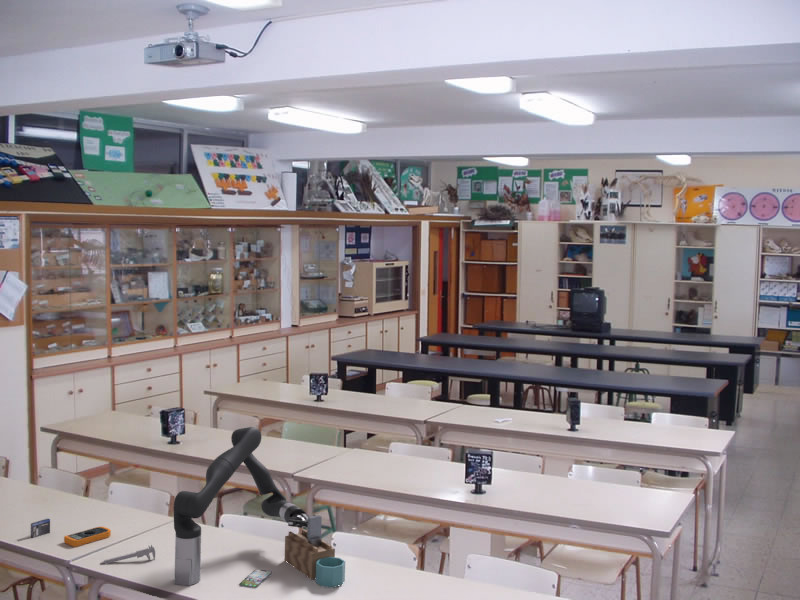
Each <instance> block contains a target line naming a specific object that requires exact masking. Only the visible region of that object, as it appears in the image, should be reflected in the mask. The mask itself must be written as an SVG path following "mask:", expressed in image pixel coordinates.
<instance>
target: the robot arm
mask: <svg viewBox="0 0 800 600" xmlns="http://www.w3.org/2000/svg"><path fill="white" fill-rule="evenodd" d="M260 430H261V429H259V428H258V427H255V426H249V427H242V428H237V429H234V431H233V432H232V434H231V437H230V439H231V444H232V447H231V448H229V449H227V450H225V451H224V452H222V453H221V454H219V455H218V456H216V457H215V459H214V460H212V462H211V463H210V464H209V466H208V467H207V469H206V472H205V486H203V488H202V489H201V490H200V491H199V492H195V491H189V490H188V491H187V490H181V491H179V492H177V494H176V496H175V498H174V501H173V528H174V532H175V538H174V539H175V542H174V543H175V544H174V551H175V552H174V585H180V586H191V585H193V584H197V583H199V582H200V581H201V561H202V560H201V559H202V557H201V556H202V555H201V553H202V550H201V549H202V527H201V526H200V524H199V523H197V522H196V521H194V520H193V519H199V518H201V517H202V516H203V515H204V514H205V512H206V511H207V509H208V508H209V506H210V505H211V503H212V502H213V500H214V499H215V497H216V496H217V495H218V494H219V492H220V491H221V490H222V488H223V486H225V484H226V483H228V481H229V480H230V479H231V477H233V475H234V474H235V472H236V471H237V470H238V469H239V467H240V466H241V465H242V464H244V465H245V466H246V468H247V470H248V471H249V473H250V475H251V477H252V478H253V481H254V482H255V483H254V484H255V485H256V487H257V489H258V490H257V491H258V492H259V494H260V495H262V496H265V495H268V494H271V495H270V496H268V497H267V498H265V499H263V501H262V502H261V503H260V505H261V506H260V507H261V508H260V509H261V511H262V512H263V513H264V514H265V515H266V516H269V517H274V518H275V517H276V518H280V519H282V521H283V522H285V523H287V526H288V527H293V528H300V529H301V528H302V529H303V528H306V529H307V528H308V517H310V515H309V514H308V513H307V514H306V512H305V510H304V509H302V508H301V507H299V506H297V505H296V504H294V503H291V502H289V501H287V498H286V496H285V494H283V493H282V492H281V491H280V489H279V488H278V487H277V486H276V484H275V481H274V479H273V477H272V475H271V473H270V471H269V470H268V468H267V467H266V466H265V465H264V464H263V462H260V461H259V459H258V458H257V457H256V456H255V455H254V454H253V452H255V450H257V448H258V447H259V446H260V444H261V443H262V432H261V431H260ZM312 516H316V514H313V515H312Z"/></svg>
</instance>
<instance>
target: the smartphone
mask: <svg viewBox="0 0 800 600" xmlns="http://www.w3.org/2000/svg"><path fill="white" fill-rule="evenodd" d="M270 575H271V576H272V575H273V571H272V570H266V569H259V568H257V569H254V570H253V571H252V572H250V573H249V575H247V576H246V577H245V578H244V579H243V580H242V581H241V582H239V584H238V586H239V585H240V586H239V587H243V586H244V588H250V589H251V588H252V589H257V588H259V587H260V586H261V585H262V584H263V583H264V582H265V581H266V580H267V579H268V578H270V577H269V576H270ZM261 583H262V584H261Z"/></svg>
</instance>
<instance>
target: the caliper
mask: <svg viewBox="0 0 800 600" xmlns="http://www.w3.org/2000/svg"><path fill="white" fill-rule="evenodd" d="M150 554H152V557H153V560H155V559H156V550H155V546H153V544H151V545H148V546H147V548H146V547H145V548H142V549H139V550H135V552H130V553H126V554H123V555H119V556H115V557H111V558H110V557H109V558H106V559H103V561H101V562H100V565H102V564H105V565H106V564H111V563H115V562H116V563H117V562H120V561H124V560H128V559H132V558H136V559H139V558H143V557H144V556H146V557H147V559H148V560H149V561H151V555H150Z"/></svg>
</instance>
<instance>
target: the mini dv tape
mask: <svg viewBox="0 0 800 600" xmlns="http://www.w3.org/2000/svg"><path fill="white" fill-rule="evenodd" d="M50 533H51V518H45V519H41V520H38V521H34V522H31V523H30V538H32V539H33V538H34V539H35V538H38V537H41V536H44V535H47V534H50Z"/></svg>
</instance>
